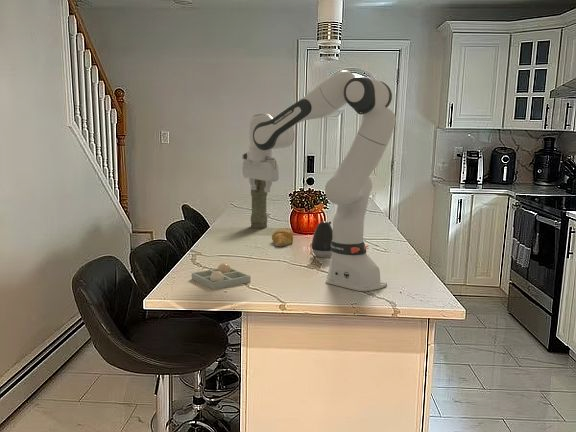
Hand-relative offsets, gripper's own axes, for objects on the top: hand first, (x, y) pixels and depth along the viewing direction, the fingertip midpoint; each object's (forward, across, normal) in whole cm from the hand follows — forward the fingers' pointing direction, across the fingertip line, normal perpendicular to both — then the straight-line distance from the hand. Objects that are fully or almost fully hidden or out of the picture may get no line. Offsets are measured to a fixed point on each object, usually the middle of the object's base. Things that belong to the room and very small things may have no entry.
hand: (260, 191), depth 219 cm
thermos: (+29, +63, -43) cm, 82 cm away
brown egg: (+28, -12, +24) cm, 39 cm away
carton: (+29, -16, +27) cm, 43 cm away
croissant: (+30, +24, -30) cm, 48 cm away
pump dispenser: (+29, -7, -28) cm, 41 cm away
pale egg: (+28, -19, +31) cm, 46 cm away
